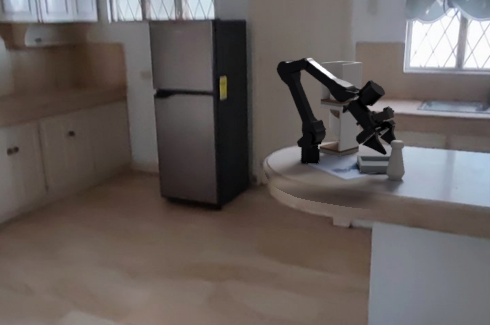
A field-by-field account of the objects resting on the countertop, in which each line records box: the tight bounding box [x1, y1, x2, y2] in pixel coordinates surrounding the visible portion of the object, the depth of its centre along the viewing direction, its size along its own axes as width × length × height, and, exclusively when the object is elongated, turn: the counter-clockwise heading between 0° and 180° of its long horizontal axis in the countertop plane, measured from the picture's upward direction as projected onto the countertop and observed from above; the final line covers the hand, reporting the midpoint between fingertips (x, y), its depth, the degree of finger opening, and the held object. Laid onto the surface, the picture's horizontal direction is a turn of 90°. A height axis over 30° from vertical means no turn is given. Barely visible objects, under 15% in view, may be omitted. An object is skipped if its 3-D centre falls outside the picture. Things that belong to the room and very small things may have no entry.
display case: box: [319, 60, 364, 157], centre depth 199 cm, size 11×11×35 cm
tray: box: [356, 155, 390, 174], centre depth 181 cm, size 13×13×2 cm
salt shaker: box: [386, 139, 406, 181], centre depth 167 cm, size 6×6×13 cm
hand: (392, 151), depth 167 cm, fingers open, 9 cm apart
